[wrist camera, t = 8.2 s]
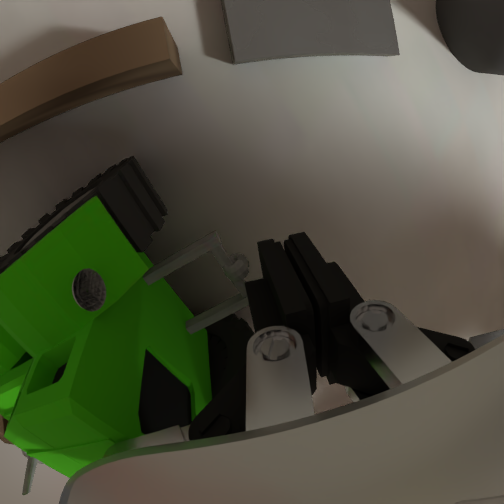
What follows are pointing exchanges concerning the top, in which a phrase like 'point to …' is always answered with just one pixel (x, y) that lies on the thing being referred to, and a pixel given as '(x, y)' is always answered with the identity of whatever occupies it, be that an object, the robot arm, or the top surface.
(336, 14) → the pad
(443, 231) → the top surface
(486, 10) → the dark grey short cylinder
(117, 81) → the bay
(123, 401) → the toy tractor
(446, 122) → the top surface
